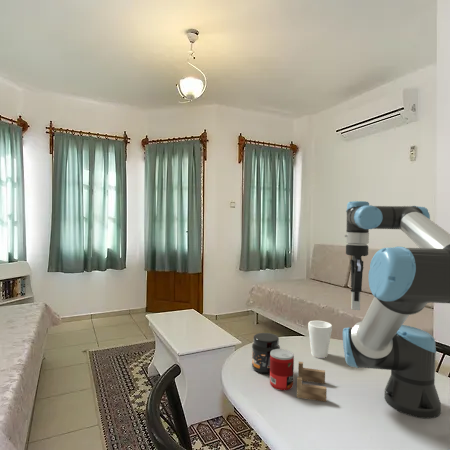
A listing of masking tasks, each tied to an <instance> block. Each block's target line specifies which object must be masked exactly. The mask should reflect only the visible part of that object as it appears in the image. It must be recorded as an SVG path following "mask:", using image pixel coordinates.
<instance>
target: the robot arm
mask: <svg viewBox="0 0 450 450" xmlns="http://www.w3.org/2000/svg"><path fill="white" fill-rule="evenodd" d="M345 212H346V234H344V238H345V242H346V243H347V244H346V245H345V254H346V255H347V256H351V257H352V258H351V259H350V260H349V263H350V283H351V284H350V287H351V289H350V292H351V304H350V305H351V308H350V309H351V310H353V311H360V310H361V292H362V291H363V290H362V286H363V272H364V268H365V267H364V260H362V257H367V256H368V255H369V246H368V244H369V242H370V241H369V240H370V239H369V237H370V233H369V231H370V230H401V231H402V232H403V233H404V234H405V235H406V236H408V238H409V239H410V240H412V242H413V243H415V244H416V246H418V247H405V246H394V247H393V246H392V247H383V248H380V249H378V250H377V251H376V252H375V253H374V255H373V257H372V258H371V260H370V264H369V267H370V269H369V271H368V285H369V290H370V293H372V295H373V298H372V301H371V303H370V305H369V307H368V309H367V310H366V313H365V315H364V317H363V319H362V320H361V321H358V322H356V323H355V324H354V326H353V327H349V326H348V327H344V328H343V329H342V343H343V344H342V346H343V354H344V360H345V363H346V365H348V367H350V368H351V367H352V368H356V369H359V368H362V369H374V370H375V369H376V370H387V371H390V376H389V379H388V381H387V382H386V386H385V388H384V397H383V398H384V401H385V402H386V403H387V404H388V405H389V406H390V407H391V408H393V409H394V410H396V411H398V412H400V413H402V414H404V415H407V416H411V417H414V418H420V419H432V418H433V419H434V418H437V417H439V416H440V414H441V411H442V410H441V409H442V405H441V404H442V403H441V400H440V397H439V394H438V391H437V389H436V385H435V375H436V353H437V349H436V340H435V338H434V336H433V335H432V334H430V333H429V332H428V331H425V330H423V329H421V328H418V327H415V326H410V325H405V321H406V320H407V319H408V317H409V316H411V315H416V314H418V313H420V312H422V310H424V309H425V307H426V306H427V304H428V303H432V304H450V233H449V232H448V231H446V230H445V229H444V228H442V227H441V226H439V224H437V223H435V222H434V221H433V220H431V214H430V212H429V209H428V208H427V207H425V206H417V205H409V206H408V205H407V206H406V205H403V206H398V205H392V206H391V205H389V206H388V205H372V204H371V205H370V203H369V201H362V200H361V201H360V200H359V201H358V200H355V201H354V200H353V201H348V202H347V204H346V211H345Z"/></svg>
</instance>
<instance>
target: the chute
mask: <svg viewBox="0 0 450 450" xmlns="http://www.w3.org/2000/svg"><path fill="white" fill-rule="evenodd" d="M297 369H298V373H297V374H298V376H297V377H296V398H299V399H305V400H311V401H317V402H324V403H326V402H327V386H324V385H325V384H326V370H324V369H318V368H317V369H315V368H309V367H308V368H307V367H304V362H303V361H298V368H297ZM303 382H308V383H315V384H323V386H321V385H315V384H308V383H303Z"/></svg>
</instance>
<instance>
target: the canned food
mask: <svg viewBox="0 0 450 450" xmlns="http://www.w3.org/2000/svg"><path fill="white" fill-rule="evenodd" d="M294 355H295V354H294V353H293V352H292V351H291V350H288V349H285V348H280V349H274V350H272V351H271V352H270V374H269V384H270V386H271V387H272V388H273V389H275V390H279V391H289V390H291V389H292V388H293V386H294V372H295V371H294V369H295V366H294V365H295V362H294V361H295V358H294V357H295V356H294Z"/></svg>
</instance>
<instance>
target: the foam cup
mask: <svg viewBox="0 0 450 450" xmlns="http://www.w3.org/2000/svg"><path fill="white" fill-rule="evenodd" d="M307 325H308V326H307V329H308V333H309V334H308V335H309V336H308V337H309V343H310V345H309V346H310V352H311V356H312V357H314V358H317V359H325V357H326V358H327V357H328V354H329V348H330V347H329V346H330V341H331V335H332V331H333V325H332V323H330V322H328V321H324V320H310V321H308V323H307Z"/></svg>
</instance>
